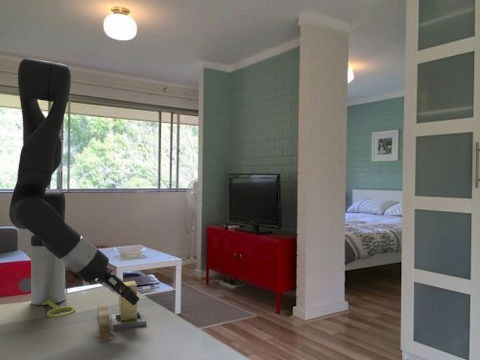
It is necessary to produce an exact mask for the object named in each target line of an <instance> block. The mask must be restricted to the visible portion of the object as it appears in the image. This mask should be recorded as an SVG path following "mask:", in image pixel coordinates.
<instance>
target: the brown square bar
mask: <svg viewBox="0 0 480 360" xmlns="http://www.w3.org/2000/svg"><path fill="white" fill-rule="evenodd" d="M108 307H109V306H108V305H99V306H98V305H97V317H98V318H97V319H98V320H97V321H98V334H99V335H98V337H99V338H98V339H99V342H102V341H110V340H111V339H112V336H111V331H112V329H111V322H110V321H111V320H110V316H109V315H110V314H109V308H108Z"/></svg>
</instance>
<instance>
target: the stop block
mask: <svg viewBox="0 0 480 360" xmlns="http://www.w3.org/2000/svg"><path fill="white" fill-rule="evenodd" d="M123 282H124V284H125V285H126V286H128V287H130V289H131V291H132V292H133V293H134V294H135V295H136V296H138V284H137V283H136V281H135V280H132V281H131V280H130V281H123ZM124 289H125V288H124V287H123V286H122V287H121V288H120V289H119V291H120V292H122V291H123V290H124ZM137 311H138V302H137V303H136V304H135V305H132V304H131V303H130V302H128V301H127V300H126V299H125V298H123V297H121V295H118V314H119V319H118V323H121V322H130V321H138V317H137Z"/></svg>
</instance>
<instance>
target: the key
mask: <svg viewBox="0 0 480 360" xmlns="http://www.w3.org/2000/svg"><path fill="white" fill-rule="evenodd" d="M41 304H42V305H41V306H46V304H48V306H50V308H51V309H50V310H48V311H47V313H46V317H47V318H62V317H66V316H69V314H70V315H72V314H74V313H75V312H76V308H75V306H62V307H61V306H60V305H57V304H56V303H55V304H54V303H53V302H52V301H51V300H47V302H42V303H41ZM68 310H69V311H68ZM70 310H71V311H70ZM67 311H68V312H67ZM61 312H62V313H61ZM63 312H65V313H63ZM56 313H60V314H56Z"/></svg>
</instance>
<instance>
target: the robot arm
mask: <svg viewBox="0 0 480 360" xmlns="http://www.w3.org/2000/svg"><path fill="white" fill-rule="evenodd" d="M17 68H18V69H17V85H18V93H19V94H18V95H19V101H20V108H21V116H22V117H21V118H22V147H21V150H20V154H19V161H18V167H17V177H16V183H15V186H14V189H13V192H12V196H11V199H10V204H9V211H8V215H9V221H10V222H11V223H12V225H13V226H15V227H16V228H18V229H21V230H28V231H29V232H30V233H32V236H31V237H30V268H31V269H30V272H31V273H30V284H31V285H30V286H31V288H30V292H31V294H30V295H31V296H30V297H31V298H30V299H31V300H30V301H31V304H32V305H34V306H43V305H42V304H41V303H42V302H47V300H51V301H52V302H53V303H54V304H55V305H56V304H58V303H61V302H64V300H66V268H68V269H69V270H70V271H71V272H72V273H74V274H75V275H77V277H78V278H80V279H81V280H82V281H83V282H85V283H86V284H87V283H88V284H89V283H92V282H94V281H95V280H96V282H98V283H99V285H102V286H103V287H104V288H106V289H108V290H109V291H111V292H112V293H114V294H116V295H118V296H119V295H121V297H123V298H125V299H126V300H127V301H128V302H130V303H131V304H132V305H135V304H136V303H137V304H138V302H139V300H140V297H139V296H138V295H137V296H136V295H135V294H134V293H133V292H132V291H131V289H130V287H128V286H126V285H125V284H124V282H125V281H123V279H122V278H120V277H119V276H118V275H117V274H116V273H115V272H114V271H113V270H112V269H109V268H107V267H108V265H109V262H110V260H109V257H108V256H107V255H105V254H104V252H102V251H101V250H100V249H98V248H97V247H96V246H95V245H94V244H93V243H91V242H90V241H89V240H88V239H86V238H85V237H83V236H82V235H81V234H80V233H78V232H77V231H76V230H75V229H74V228H72V227H71V226H70V225H68V224H67V222H65V221H66V220H65V219H66V195H65V193H64V192H63V191H62V190H47V189H48V187H49V186H50V184H51V182H52V177H53V174H54V173H55V172H56V171H57V169H58V168H59V167H60V165H61V163H62V145H63V144H62V139H61V137H60V133H61V130H62V126H63V121H64V118H65V114H66V110H67V105H68V102H69V96H70V91H71V85H72V84H71V83H72V76H71V70H70V68H69V66H68V65H66V64H63V63H58V62H53V61H47V60H41V59H35V58H30V57H29V58H23V59H22V60H21V61H20V63H19V65H18V67H17ZM38 100H39V101H46V102H51V103H52V104H51V107H50V109H49V112H48V114H47V115H46V116H45V114H44V113H43V112H42V109H41V107H40V104H39V101H38ZM122 286H123V287H124V288H125V289H124V290H123V291H122V292H120V291H119V289H120V288H121V287H122ZM46 305H48V304H46ZM46 305H45V306H46ZM48 306H49V305H48Z"/></svg>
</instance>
